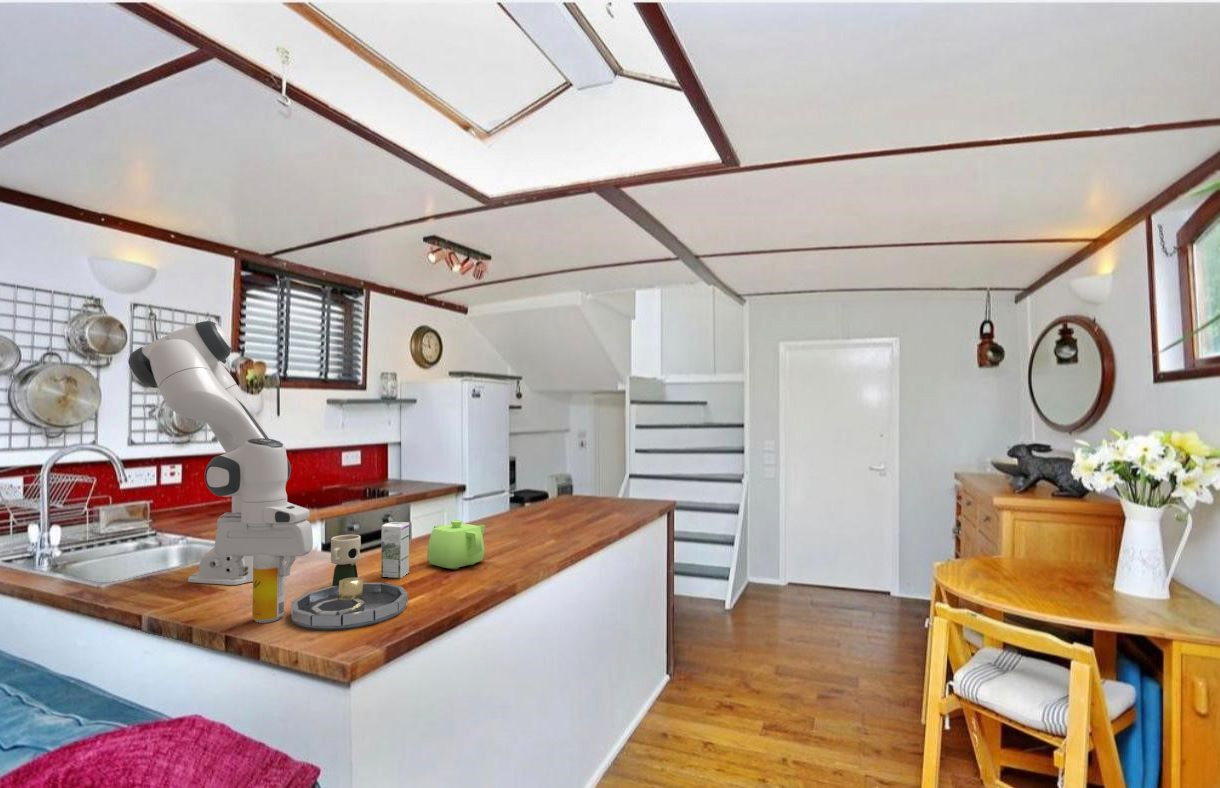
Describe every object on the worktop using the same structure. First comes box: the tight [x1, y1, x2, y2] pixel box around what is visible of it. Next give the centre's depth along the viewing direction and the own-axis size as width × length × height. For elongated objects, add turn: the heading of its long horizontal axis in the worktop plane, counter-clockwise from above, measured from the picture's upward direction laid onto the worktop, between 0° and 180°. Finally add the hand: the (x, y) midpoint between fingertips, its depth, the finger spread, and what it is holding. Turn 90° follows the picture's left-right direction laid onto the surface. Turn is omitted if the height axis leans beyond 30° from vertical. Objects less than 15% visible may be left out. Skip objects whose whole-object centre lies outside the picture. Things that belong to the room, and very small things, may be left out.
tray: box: [290, 576, 409, 631], centre depth 138 cm, size 24×24×7 cm
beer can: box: [251, 553, 286, 624], centre depth 133 cm, size 6×6×15 cm
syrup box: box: [380, 521, 410, 579], centre depth 167 cm, size 6×6×14 cm
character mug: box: [330, 534, 362, 586], centre depth 156 cm, size 11×7×13 cm, turn 174°
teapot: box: [426, 519, 486, 570], centre depth 181 cm, size 18×20×13 cm
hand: (263, 575), depth 132 cm, fingers open, 8 cm apart
